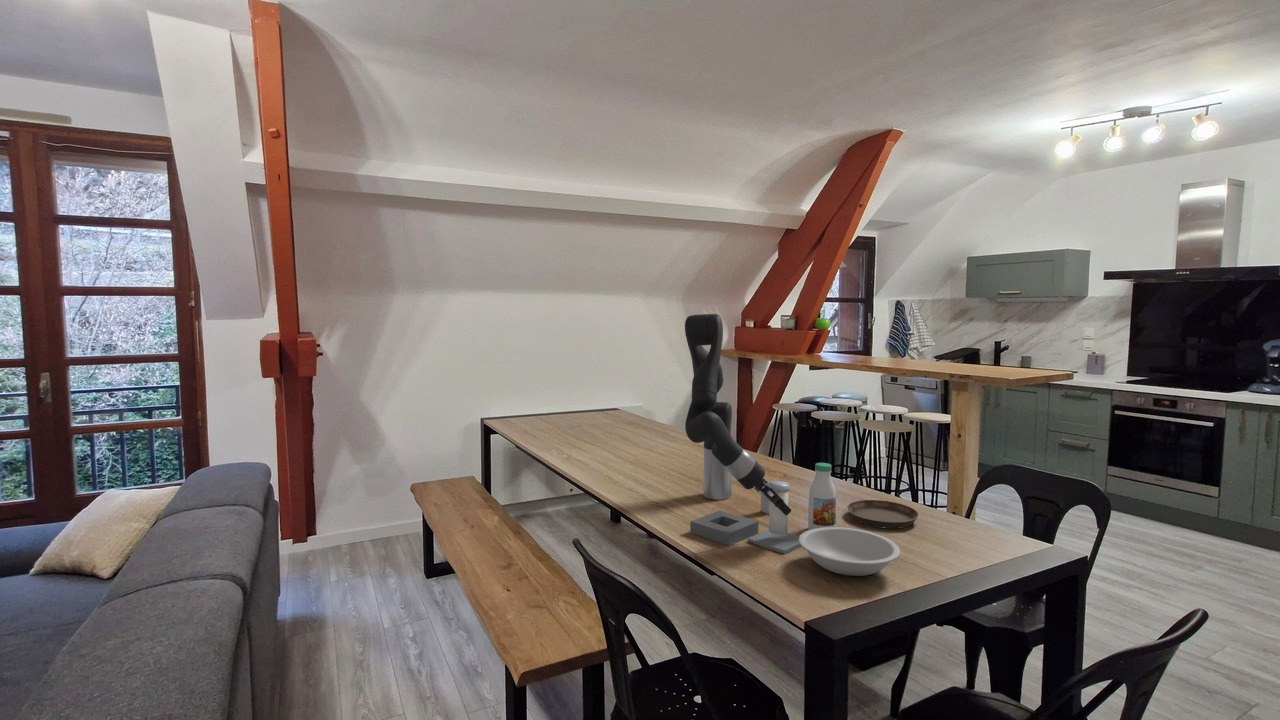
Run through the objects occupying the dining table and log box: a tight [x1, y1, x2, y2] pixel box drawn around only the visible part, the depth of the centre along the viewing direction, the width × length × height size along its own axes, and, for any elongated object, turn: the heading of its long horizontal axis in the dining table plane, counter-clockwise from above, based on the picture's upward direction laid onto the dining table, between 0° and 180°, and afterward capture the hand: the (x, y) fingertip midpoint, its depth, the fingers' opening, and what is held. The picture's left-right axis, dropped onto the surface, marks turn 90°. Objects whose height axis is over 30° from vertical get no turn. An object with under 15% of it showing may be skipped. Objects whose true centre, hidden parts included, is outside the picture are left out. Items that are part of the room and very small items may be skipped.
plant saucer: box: [846, 499, 920, 529], centre depth 191 cm, size 21×21×3 cm
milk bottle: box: [807, 462, 837, 530], centre depth 180 cm, size 8×8×20 cm
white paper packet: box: [760, 479, 783, 515], centre depth 198 cm, size 4×7×10 cm, turn 116°
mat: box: [747, 529, 802, 555], centre depth 171 cm, size 12×12×1 cm
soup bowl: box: [799, 526, 901, 577], centre depth 153 cm, size 24×24×7 cm
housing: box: [689, 510, 759, 547], centre depth 178 cm, size 14×14×4 cm
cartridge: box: [768, 480, 790, 535], centre depth 170 cm, size 5×5×14 cm
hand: (785, 509), depth 171 cm, fingers closed on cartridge, 5 cm apart
